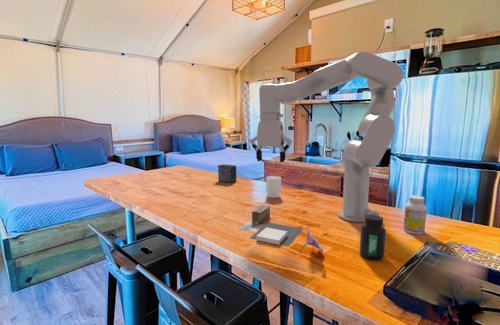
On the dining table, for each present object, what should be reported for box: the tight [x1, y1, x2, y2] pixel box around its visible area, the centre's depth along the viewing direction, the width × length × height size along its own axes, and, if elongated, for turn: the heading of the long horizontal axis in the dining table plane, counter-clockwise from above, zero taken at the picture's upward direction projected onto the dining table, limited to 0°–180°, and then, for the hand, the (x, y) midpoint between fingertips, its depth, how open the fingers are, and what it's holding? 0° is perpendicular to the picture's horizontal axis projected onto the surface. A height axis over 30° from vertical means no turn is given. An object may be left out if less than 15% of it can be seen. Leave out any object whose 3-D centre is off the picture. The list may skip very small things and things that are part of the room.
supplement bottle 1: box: [359, 215, 387, 262], centre depth 84 cm, size 7×7×12 cm
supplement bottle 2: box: [403, 194, 428, 236], centre depth 101 cm, size 7×7×13 cm
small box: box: [217, 163, 237, 184], centre depth 182 cm, size 11×6×10 cm, turn 58°
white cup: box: [265, 175, 282, 199], centre depth 147 cm, size 8×8×10 cm
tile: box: [255, 227, 287, 246], centre depth 96 cm, size 8×2×8 cm
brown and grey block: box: [238, 204, 271, 233], centre depth 110 cm, size 7×17×5 cm, turn 152°
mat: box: [249, 221, 304, 247], centre depth 100 cm, size 14×16×1 cm
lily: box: [298, 220, 325, 257], centre depth 86 cm, size 12×12×10 cm
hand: (270, 161), depth 112 cm, fingers open, 9 cm apart
